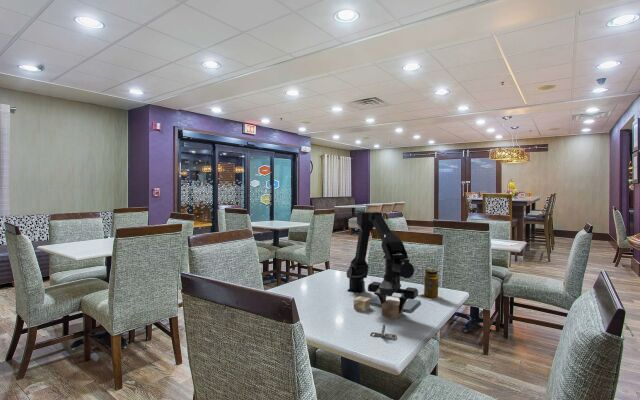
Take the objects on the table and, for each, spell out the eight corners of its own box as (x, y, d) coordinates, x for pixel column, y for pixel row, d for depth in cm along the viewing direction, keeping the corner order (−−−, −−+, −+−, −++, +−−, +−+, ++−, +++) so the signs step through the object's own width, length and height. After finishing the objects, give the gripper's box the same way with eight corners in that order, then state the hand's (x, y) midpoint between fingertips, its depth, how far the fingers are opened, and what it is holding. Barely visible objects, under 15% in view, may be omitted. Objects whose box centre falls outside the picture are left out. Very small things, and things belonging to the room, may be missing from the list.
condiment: (442, 297, 158) (442, 271, 158) (429, 300, 154) (430, 273, 153) (429, 293, 165) (429, 268, 164) (416, 296, 160) (417, 270, 159)
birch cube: (353, 308, 143) (353, 299, 142) (359, 305, 147) (359, 296, 147) (364, 311, 140) (364, 301, 140) (370, 307, 144) (370, 298, 144)
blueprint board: (368, 304, 148) (368, 301, 148) (380, 295, 160) (381, 293, 160) (409, 312, 139) (409, 309, 139) (420, 302, 150) (420, 300, 150)
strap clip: (397, 337, 116) (397, 324, 116) (395, 341, 113) (395, 328, 113) (371, 333, 119) (372, 321, 119) (369, 336, 116) (369, 324, 116)
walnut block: (381, 315, 135) (381, 304, 135) (388, 310, 141) (388, 299, 141) (396, 318, 132) (396, 306, 132) (402, 313, 138) (402, 301, 138)
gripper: (361, 272, 134) (361, 313, 134) (409, 280, 124) (408, 323, 124) (373, 267, 143) (373, 305, 144) (419, 273, 133) (418, 314, 134)
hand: (392, 311), depth 136 cm, fingers closed on walnut block, 6 cm apart
